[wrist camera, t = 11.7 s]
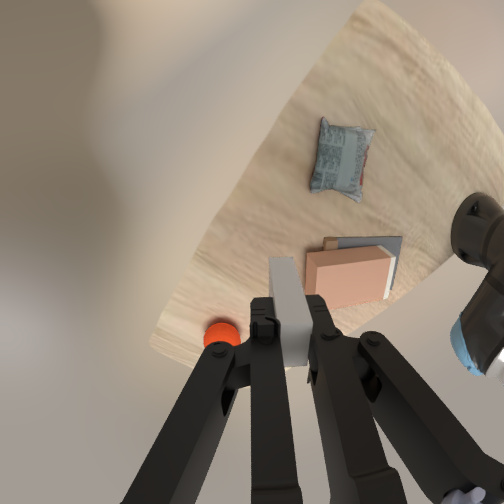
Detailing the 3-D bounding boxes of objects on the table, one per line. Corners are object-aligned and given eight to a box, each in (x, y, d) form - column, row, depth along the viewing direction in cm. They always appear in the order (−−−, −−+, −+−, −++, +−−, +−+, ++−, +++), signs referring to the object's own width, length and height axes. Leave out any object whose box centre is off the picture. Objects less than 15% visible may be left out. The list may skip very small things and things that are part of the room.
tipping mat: (401, 236, 45) (405, 239, 44) (390, 288, 49) (393, 292, 48) (324, 237, 45) (326, 241, 44) (319, 294, 50) (320, 298, 48)
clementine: (241, 346, 55) (240, 371, 48) (207, 345, 55) (203, 370, 48) (241, 315, 51) (240, 341, 45) (204, 314, 51) (198, 339, 45)
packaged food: (369, 130, 38) (382, 130, 33) (355, 200, 43) (366, 208, 38) (317, 116, 37) (325, 115, 33) (304, 190, 42) (310, 198, 38)
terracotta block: (306, 252, 44) (380, 245, 45) (304, 295, 47) (374, 284, 48) (317, 267, 39) (396, 257, 41) (313, 312, 43) (387, 298, 44)
